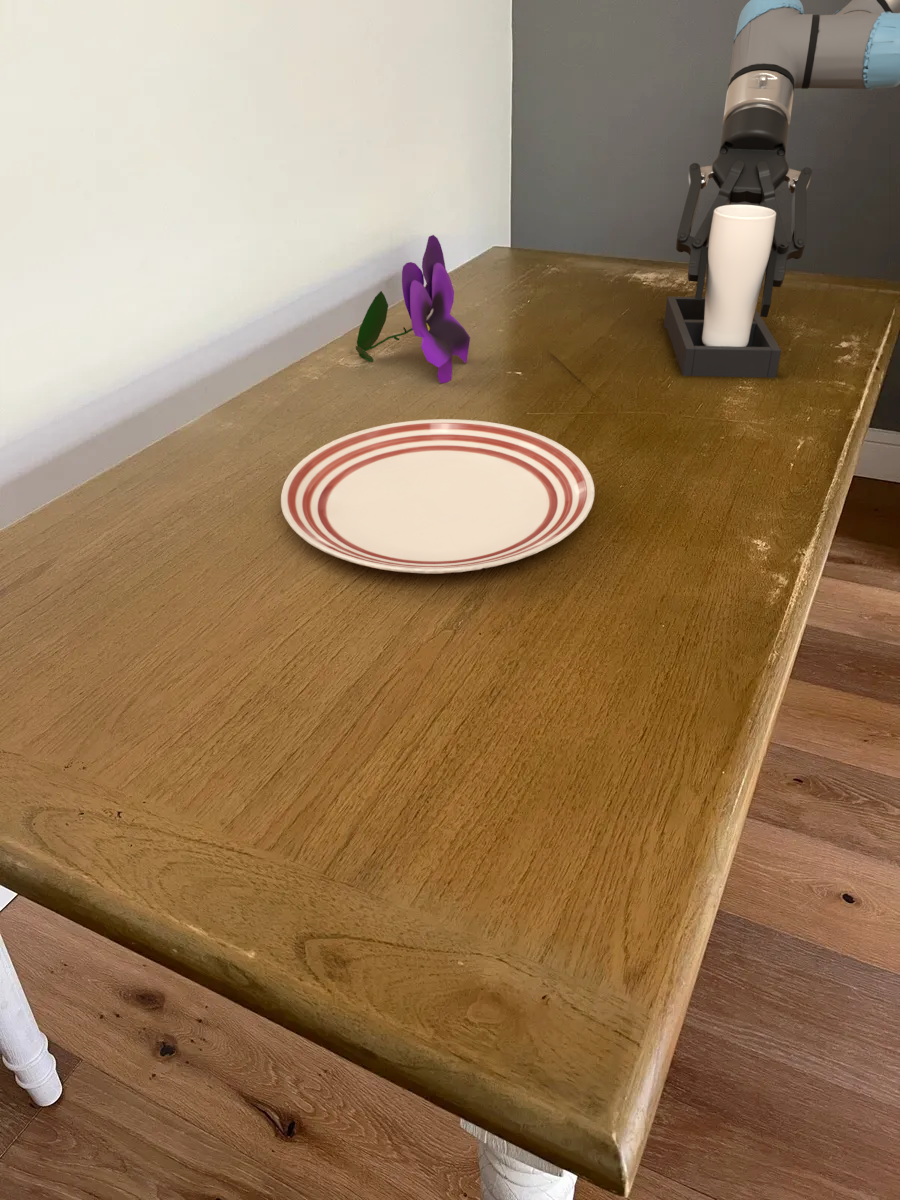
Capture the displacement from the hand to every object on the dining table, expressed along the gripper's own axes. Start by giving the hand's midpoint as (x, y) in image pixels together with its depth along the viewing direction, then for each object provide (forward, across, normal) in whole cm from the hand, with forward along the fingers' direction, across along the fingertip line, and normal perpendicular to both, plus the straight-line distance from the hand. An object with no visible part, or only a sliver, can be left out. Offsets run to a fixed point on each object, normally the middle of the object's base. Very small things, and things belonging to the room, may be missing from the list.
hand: (731, 308), depth 107 cm
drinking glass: (+1, 0, +6) cm, 7 cm away
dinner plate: (+33, -24, -21) cm, 46 cm away
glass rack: (0, -1, +12) cm, 12 cm away
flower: (+9, -37, +4) cm, 38 cm away
